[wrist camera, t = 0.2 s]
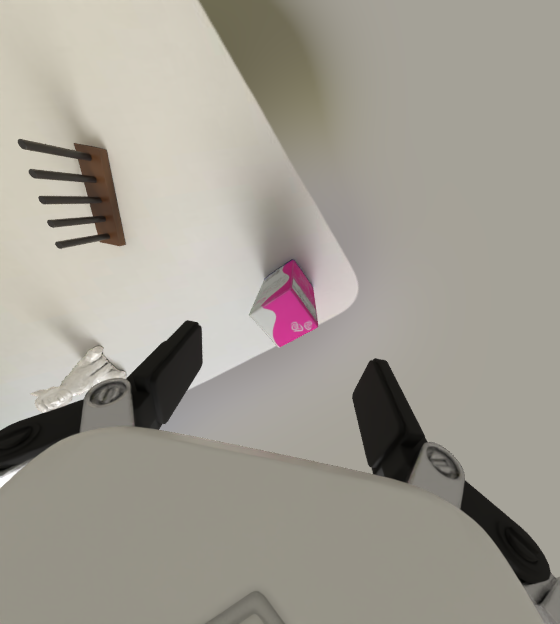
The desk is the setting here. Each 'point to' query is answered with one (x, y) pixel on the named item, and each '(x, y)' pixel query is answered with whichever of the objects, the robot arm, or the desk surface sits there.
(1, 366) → the desk surface
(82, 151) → the rack
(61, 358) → the desk surface
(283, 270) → the supplement box
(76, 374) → the white creature statuette
